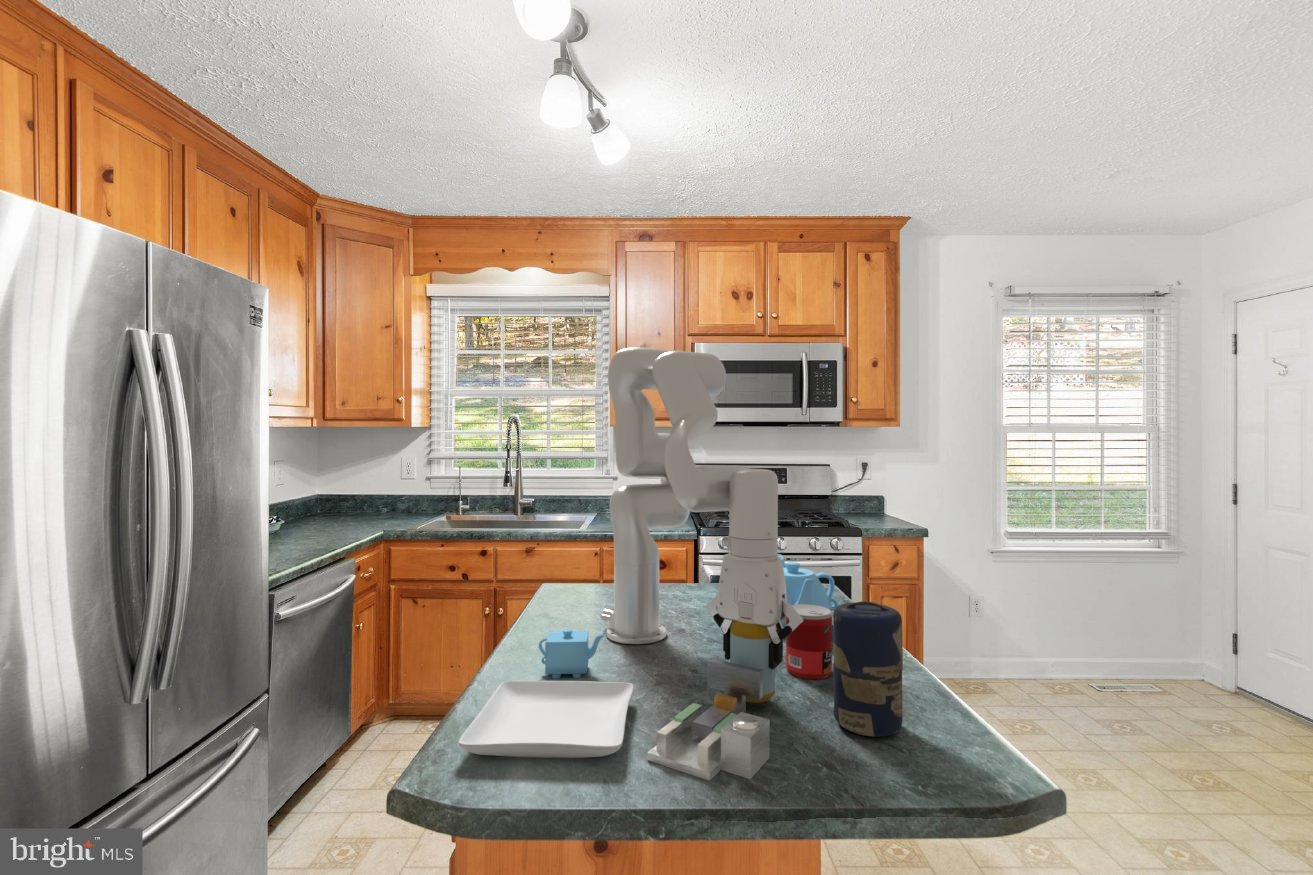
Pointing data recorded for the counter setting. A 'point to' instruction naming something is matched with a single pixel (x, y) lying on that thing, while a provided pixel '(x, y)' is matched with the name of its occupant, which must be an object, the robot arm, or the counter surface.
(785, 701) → the counter surface
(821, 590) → the teapot
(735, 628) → the bottle
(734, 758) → the gauge body
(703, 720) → the grey t-shaped piece
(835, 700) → the canister
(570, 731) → the salad plate
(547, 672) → the teapot
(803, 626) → the canned food
